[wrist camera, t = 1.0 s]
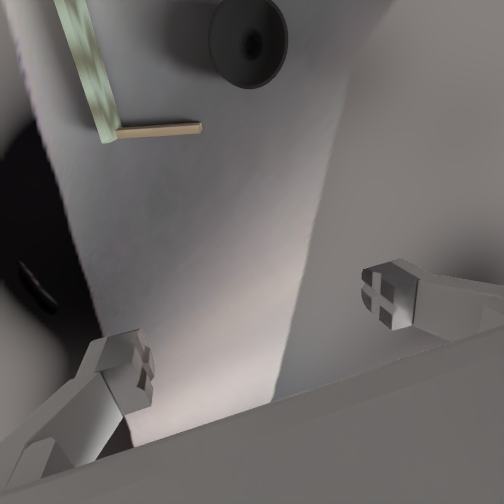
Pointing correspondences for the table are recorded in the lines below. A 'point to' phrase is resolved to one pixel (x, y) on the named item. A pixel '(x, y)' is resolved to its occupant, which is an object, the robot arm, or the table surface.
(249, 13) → the pen holder
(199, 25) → the table surface
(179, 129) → the corral
